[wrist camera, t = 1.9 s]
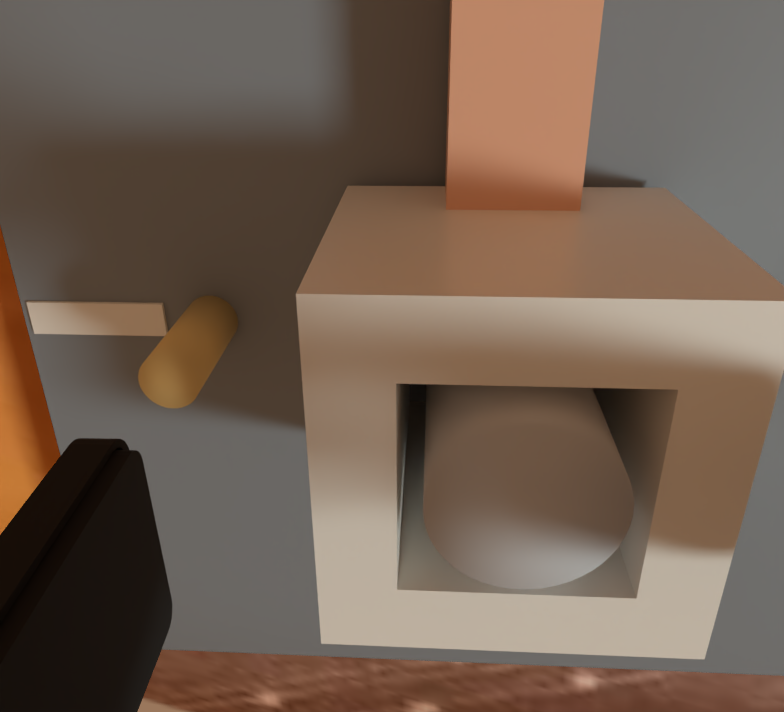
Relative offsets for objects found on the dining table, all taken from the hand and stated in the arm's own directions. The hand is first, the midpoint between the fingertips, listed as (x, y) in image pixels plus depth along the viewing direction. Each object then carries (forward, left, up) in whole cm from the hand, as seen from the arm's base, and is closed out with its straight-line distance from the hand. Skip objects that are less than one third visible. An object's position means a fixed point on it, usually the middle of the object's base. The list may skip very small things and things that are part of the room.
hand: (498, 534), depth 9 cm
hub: (+2, -1, -7) cm, 8 cm away
